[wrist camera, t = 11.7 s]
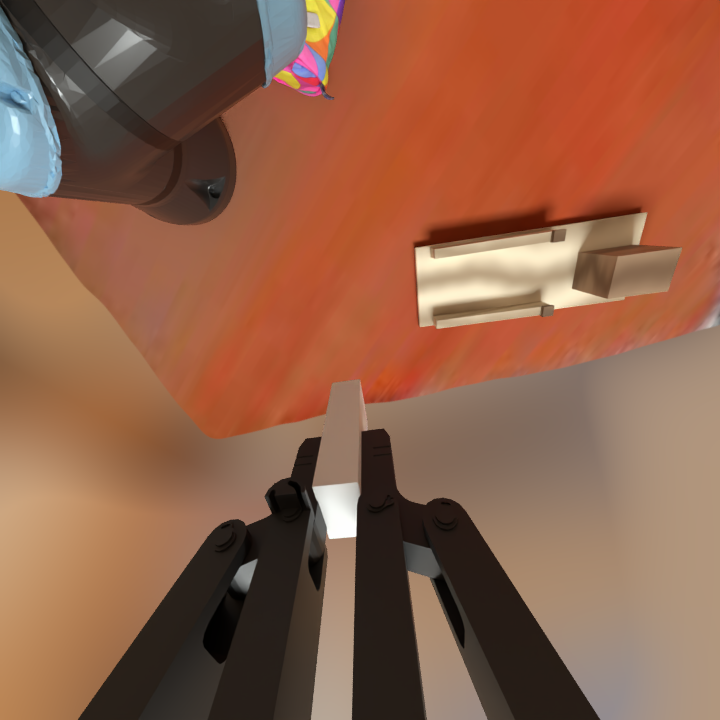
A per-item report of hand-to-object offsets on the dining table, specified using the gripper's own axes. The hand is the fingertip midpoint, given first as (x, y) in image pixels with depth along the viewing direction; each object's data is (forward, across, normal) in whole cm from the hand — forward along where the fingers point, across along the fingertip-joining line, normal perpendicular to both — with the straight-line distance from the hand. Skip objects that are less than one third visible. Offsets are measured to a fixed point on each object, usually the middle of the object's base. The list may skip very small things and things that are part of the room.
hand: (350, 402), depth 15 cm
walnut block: (+28, +34, -2) cm, 44 cm away
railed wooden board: (+29, +24, -1) cm, 38 cm away
